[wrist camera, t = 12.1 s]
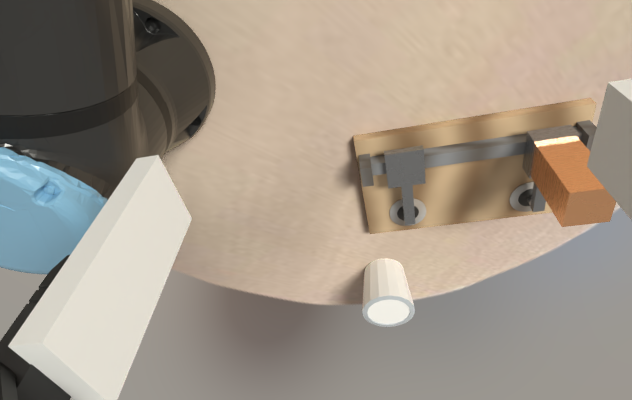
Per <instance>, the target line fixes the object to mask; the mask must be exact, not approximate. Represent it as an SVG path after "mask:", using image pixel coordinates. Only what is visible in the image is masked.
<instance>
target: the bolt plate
mask: <svg viewBox="0 0 632 400" xmlns="http://www.w3.org/2000/svg"><path fill="white" fill-rule="evenodd" d="M596 104H597V103H596V102H594V101H593V100H592V99H591V98H588V99H582V100H576V101H569V102H563V103H557V104H550V105H544V106H538V107H532V108H525V109H519V110H513V111H506V112H500V113H494V114H488V115H481V116H475V117H469V118H463V119H456V120H450V121H444V122H437V123H431V124H425V125H419V126H412V127H406V128H400V129H393V130H387V131H381V132H375V133H368V134H362V135H356V136H353V138H354V146H355V152H356V157H357V163H358V169H359V175H360V180H361V186H362V192H363V198H364V203H365V209H366V215H367V221H368V226H369V232H370V234H375V233H383V232H391V231H400V230H408V229H417V228H425V227H433V226H442V225H450V224H458V223H467V222H475V221H484V220H492V219H500V218H509V217H517V216H525V215H534V214H542V213H551V212H552V210H551V208H550V207H549V205H548V203H547V202H546V205H545V210H544V211H539V212H532V210H531V208H530V204H529V203H528V201H527V198H528V197H529V196H531V195H532V191H533V184H534V181H533V179H532V178H530V179H529V178H528V176H527V174H526V173H525V171H524V169H523V168H522V165H523V158H524V150H525V142H526V135H527V131H531V130H538V129H544V128H551V127H558V126H564V125H572V127H573V128H574V129H575V130H576V131H577V132H578V133H579V134H580V138H579V139H580V140H581V142H582V143H583V144H584V145H585V146H586V147H587V148H588V149H589V151H590V152H591V148H592V144H593V140H594V136H595V132H596V128H597V127H596V126H595V125H594V124H593V123H592V121H593V116H594V112H595V108H596ZM421 145H423V148H424V161H425V180H426V183H425V184H418V185H413V198H414V211H415V224H412V225H405V222H404V213H403V203H402V192H401V187H396V188H389V189H388V182H387V174H386V166H385V157H384V151H388V150H394V149H401V148H408V147H414V146H421Z"/></svg>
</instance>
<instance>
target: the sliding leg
mask: <svg viewBox="0 0 632 400" xmlns="http://www.w3.org/2000/svg"><path fill="white" fill-rule="evenodd" d="M579 138H580V134H579V133H578V132H577V131H576V130H575V129H574V128H573V127H572V125H564V126H558V127H551V128H544V129H538V130H531V131H527V135H526V142H525V150H524V158H523V165H522V168H523V169H524V171H525V173H526V174H527V176H528V178H529V179H530V178H532V179H533V181H534V184H533V191H532V195H531V196H529V197H528V198H527V201H528V203H529V204H530V208H531V210H532V212H539V211H544V210H545V205H546V202H547V203H548V205H549V207H550V208H551V210H552V212H553V213H554V215H555V216H556V218H557V220H558V221H559V223H560V224H561V226H562V227H566V226H575V225H583V224H592V223H601V222H609V221H610V220H611V217H612V213H613V210H614V207H615V204H616V201H615V200H614V198H613V197H612V196H611V195H610V194H609V192H608V191H607V190H606V189H605V188H604V186H603V185H602V184H601V183H600V182H599V180H598V179H597V178H596V177H595V176H594V174H593V173H592V172H591V171H590V169H589V168H588V167H587V163H588V160H589V156H590V151H589V149H588V148H587V147H586V146H585V145H584V144H583V143H582V142H581V140H580V139H579Z"/></svg>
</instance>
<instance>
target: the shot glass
mask: <svg viewBox="0 0 632 400" xmlns="http://www.w3.org/2000/svg"><path fill="white" fill-rule="evenodd" d="M362 313H363V316H364V318H365V319H366V320H367V321H368V322H369V323H372V324H374V325H377V326H383V327H391V326H398V325H401V324H404V323H406V322H407V321H409V320H410V319H411V318H412V317H413V315H414V313H415V309H414V304H413V300H412V297H411V293H410V290H409V286H408V283H407V279H406V276H405V272H404V269H403V266H402V265H401V264H400V263H399V262H398V261H395V260H393V259H387V258H383V259H377V260H375V261H372V262H370V263H369V264H368V265H367V266H366V268H365V271H364V288H363V307H362Z"/></svg>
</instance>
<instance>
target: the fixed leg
mask: <svg viewBox="0 0 632 400" xmlns="http://www.w3.org/2000/svg"><path fill="white" fill-rule="evenodd" d="M384 157H385V166H386V174H387V182H388V189H389V188H396V187H401V192H402V203H403V213H404V222H405V225H412V224H415V211H414V198H413V185H418V184H425V183H426V180H425V161H424V148H423V145H421V146H414V147H408V148H401V149H394V150H388V151H384Z"/></svg>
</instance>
